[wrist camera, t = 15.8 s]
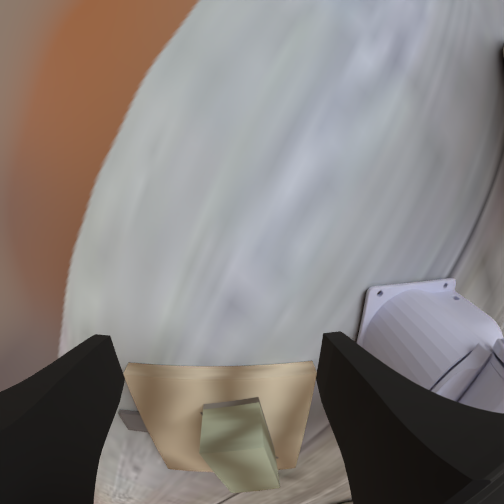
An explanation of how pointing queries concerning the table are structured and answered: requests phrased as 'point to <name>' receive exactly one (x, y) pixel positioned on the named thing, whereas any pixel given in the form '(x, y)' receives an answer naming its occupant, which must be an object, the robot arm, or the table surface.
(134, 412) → the small gray block
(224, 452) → the block
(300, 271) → the table surface
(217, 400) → the board
